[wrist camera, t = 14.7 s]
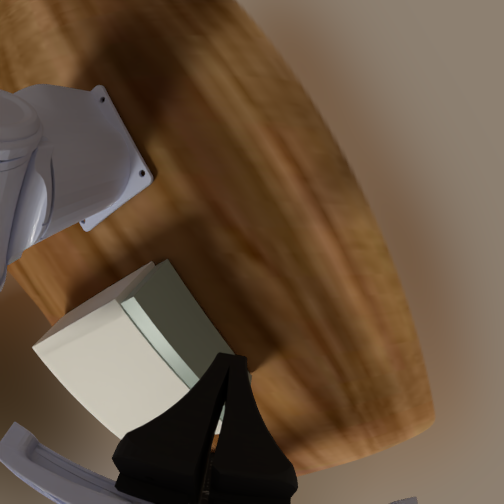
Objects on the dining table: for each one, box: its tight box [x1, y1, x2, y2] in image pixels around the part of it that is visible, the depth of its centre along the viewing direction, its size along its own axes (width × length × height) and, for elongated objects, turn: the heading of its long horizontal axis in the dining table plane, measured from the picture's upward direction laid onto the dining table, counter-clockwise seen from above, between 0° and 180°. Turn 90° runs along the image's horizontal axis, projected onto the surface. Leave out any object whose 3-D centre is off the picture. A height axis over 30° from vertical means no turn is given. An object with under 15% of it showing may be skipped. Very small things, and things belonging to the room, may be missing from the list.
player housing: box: [32, 261, 223, 439], centre depth 22 cm, size 14×14×6 cm
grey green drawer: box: [121, 259, 252, 420], centre depth 22 cm, size 13×13×6 cm
